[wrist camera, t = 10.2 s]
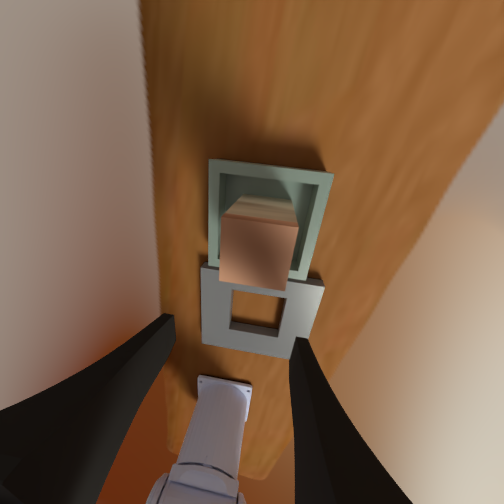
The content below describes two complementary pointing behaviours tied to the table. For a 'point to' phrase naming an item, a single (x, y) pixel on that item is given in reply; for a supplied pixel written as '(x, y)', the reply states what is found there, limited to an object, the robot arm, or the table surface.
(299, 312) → the holder board
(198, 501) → the robot arm
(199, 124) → the table surface
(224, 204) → the tray
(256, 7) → the table surface
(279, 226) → the block
